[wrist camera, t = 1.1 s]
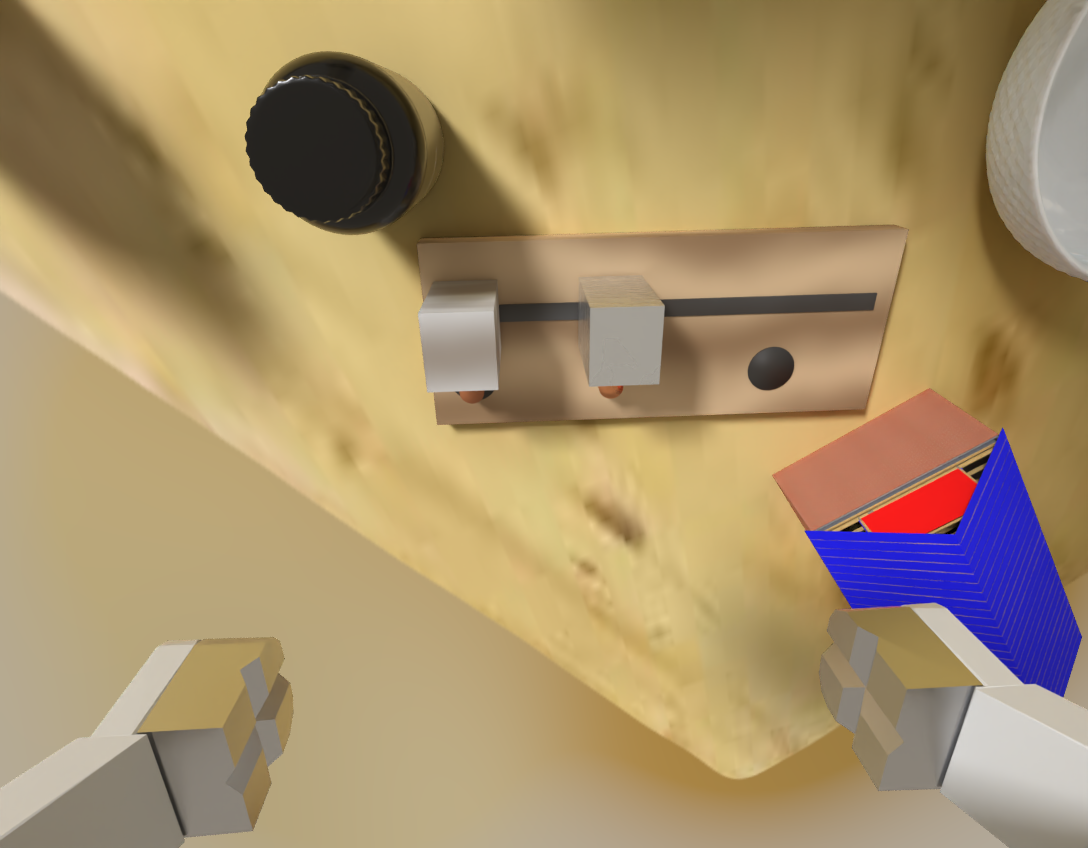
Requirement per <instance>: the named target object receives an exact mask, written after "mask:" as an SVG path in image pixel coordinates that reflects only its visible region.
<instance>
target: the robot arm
mask: <svg viewBox="0 0 1088 848" xmlns="http://www.w3.org/2000/svg"><path fill="white" fill-rule="evenodd" d="M827 632H828V633H829V635H830V636H831V638H832V639H833V641H834V643H833V644H832V645H831V646H830V647H829V648H828V649H827V650H826V651H825V652H824V653H823V654H822V658H821V664H820V670H819V675H820V682H821V689H822V693H823V696H824V699H825V701H826V704H827V706H828V708H829V710H830V712H831V713H832V715H833V717H834V719H835V720H836V721H837V722H838V723H840V724H841V725H843V726H844V727H846V728H847V729H848V730H850V731H852V732H853V733H854V739H853V745H852V749H853V750H854V752H855V753H856V755H857V757H858V758H859V760H860V762H861V763H862V765H863V767H864V768H865V770H866V772H867V773H868V775H869V776H870V778H871V780H872V781H873V783H874V785H875V786H876V788H877V789H878V791H887V790H888V791H890V790H918V789H941V790H940V793H942V794H943V795H944V796H945V797H947V798H948V799H949V800H950V801H952V802H953V803H954V804H956V805H957V806H958V807H959V808H960V809H962V810H963V811H964V812H965V813H967V814H968V815H969V816H970V817H972V818H973V819H974V820H975V821H977V822H978V823H979V824H980V825H982V826H983V827H984V828H985V829H986V830H988V831H989V832H990V833H991V834H993V835H994V836H995V837H996V838H998V839H999V840H1000V841H1002V842H1003V843H1004V844H1005V845H1006V846H1008V847H1009V848H1088V710H1087V709H1085V708H1083V707H1081V706H1079V705H1077V704H1075V703H1073V702H1071V701H1069V700H1067V699H1065V698H1063V697H1061V696H1059V695H1057V694H1055V693H1053V692H1051V691H1049V690H1047V689H1044V688H1042V687H1040V686H1038V685H1036V684H1023V683H1022V682H1021V681H1020V680H1019V679H1018V678H1017V677H1016V676H1015V675H1014V674H1013V673H1012V672H1011V671H1010V670H1009V669H1008V668H1007V667H1006V666H1005V665H1004V664H1003V663H1002V662H1001V661H1000V660H999V659H998V658H997V657H996V656H995V655H994V654H993V653H992V652H991V651H990V650H989V649H988V648H987V647H986V646H985V645H984V644H983V643H982V642H981V641H979V640H978V639H977V638H976V637H975V636H974V635H973V634H972V633H971V632H970V631H969V630H968V629H967V628H966V627H965V626H964V625H963V624H962V623H961V622H960V621H959V620H958V619H957V618H956V617H955V616H954V615H953V614H952V613H951V612H950V611H949V610H948V609H947V608H945V607H944V606H941V605H939V604H937V603H924V604H910V605H902V606H889V607H871V608H853V609H836V610H835V611H834V613H833V614H832V615H831V617H830V620H829V624H828V628H827ZM284 659H285V658H284V655H283V651H282V647H281V643H280V641H279V640H278V639H276V638H274V637H261V638H223V639H203V640H173V641H166V642H165V643H163V644H161V645H159V646H158V647H157V648H156V649H155V650H154V652H153V653H152V654H151V656H150V657H149V658H148V660H147V661H146V662H145V664H144V665H143V666H142V668H141V669H140V670H139V672H138V673H137V674H136V676H135V677H134V679H133V680H132V681H131V682H130V684H129V685H128V687H127V688H126V689H125V691H124V692H123V693H122V695H121V696H120V697H119V699H118V700H117V701H116V703H115V704H114V705H113V707H112V708H111V709H110V711H109V712H108V713H107V715H106V716H105V718H104V719H103V720H102V722H101V723H100V724H99V726H98V727H97V728H96V730H95V731H94V732H93V734H92V735H91V736H90V737H85V738H77V739H75V740H74V741H73V742H71V743H69V744H68V745H66V746H64V747H63V748H61V749H60V750H58V751H57V752H55V753H54V754H52V755H51V756H49V757H48V758H46V759H44V760H43V761H41V762H40V763H38V764H37V765H35V766H34V767H32V768H31V769H29V770H27V771H26V772H24V773H23V774H21V775H20V776H18V777H17V778H15V779H14V780H12V781H10V782H9V783H8V784H6V785H4V786H3V787H1V788H0V848H179V847H180V846H181V845H182V844H183V843H184V838H185V837H196V836H206V835H216V834H228V833H238V832H248V831H253V829H254V827H255V824H256V822H257V819H258V816H259V814H260V811H261V809H262V806H263V804H264V801H265V799H266V796H267V794H268V791H269V788H270V786H271V779H270V775H269V771H268V766H269V765H270V764H272V762H274V761H275V760H276V759H277V758H278V757H279V756H280V755H281V754H283V752H284V749H285V746H286V744H287V741H288V738H289V735H290V730H291V724H292V718H293V694H292V690H291V685H290V682H288V681H287V680H286V679H285V678H284V677H283V676H281V675H280V674H279V670H280V668H281V666H282V663H283V661H284Z"/></svg>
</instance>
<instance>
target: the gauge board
mask: <svg viewBox="0 0 1088 848" xmlns="http://www.w3.org/2000/svg"><path fill="white" fill-rule="evenodd" d="M908 231H909V229H906V228H903V227H899V226H896V225H870V226H836V227H801V228H767V229H732V230H698V231H663V232H629V233H594V234H559V235H525V236H490V237H456V238H421V239H420V240H419V241H418V243H417V251H418V260H419V269H420V277H421V286H422V295H423V305H422V307H421V309H420V311H419V313H418V317H419V326H420V334H421V343H422V351H423V360H424V368H425V376H426V385H427V392H434V401H435V410H436V418H437V425H446V424H474V423H501V422H528V421H555V420H583V419H610V418H637V417H665V416H692V415H719V414H746V413H774V412H801V411H828V410H856V409H865V408H866V404H867V399H868V395H869V391H870V387H871V383H872V379H873V375H874V371H875V367H876V362H877V358H878V354H879V350H880V346H881V342H882V338H883V334H884V329H885V325H886V321H887V317H888V313H889V309H890V305H891V301H892V297H893V292H894V288H895V284H896V280H897V276H898V272H899V268H900V264H901V259H902V255H903V251H904V247H905V243H906V239H907V235H908ZM629 275H642V276H643V278H644V279H645V280H646V282H647V283H648V284H649V286H650V287H651V288H652V290H653V291H654V292H655V293H656V295H657V296H658V297H659V299H660V300H661V301H662V303H663V304H664V305H665V310H664V324H663V338H662V352H661V367H660V381H659V384H652V385H624V386H623V391H622V393H621V394H620V395H619V396H618V397H616V398H612V399H609V398H605V397H603V396H602V395H601V393H600V391H599V388H598V386H596V387H589V384H588V380H587V377H586V373H585V369H584V365H583V361H582V357H581V354H580V350H579V346H578V317H579V277H597V276H629Z"/></svg>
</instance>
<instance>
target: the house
mask: <svg viewBox="0 0 1088 848" xmlns="http://www.w3.org/2000/svg"><path fill="white" fill-rule="evenodd" d="M954 466H956V467H954ZM952 467H954V468H952ZM950 468H952V469H950ZM948 469H950V470H948ZM946 470H948V471H946ZM944 471H946V472H944ZM942 472H944V473H942ZM941 473H942V474H941ZM939 474H941V475H939ZM937 475H939V476H937ZM772 476H773V477H774V479H775V481H776V482H777V484H778V485H779V487H780V489H781V490H782V492H783V494H784V495H785V497H786V499H787V500H788V502H789V503H790V505H791V507H792V508H793V510H794V512H795V513H796V515H797V517H798V518H799V520H800V522H801V523H802V525H803V526H804V528H805V530H806V531H805V532H806V534H807V536H808V538H809V539H810V541H811V542H812V544H813V546H814V547H815V549H816V550H817V552H818V554H819V555H820V557H821V559H822V560H823V562H824V564H825V565H826V567H827V568H828V570H829V572H830V573H831V575H832V577H833V578H834V580H835V581H836V583H837V585H838V587H839V588H840V590H841V591H842V593H843V595H844V596H845V598H846V599H847V601H848V603H849V604H850V606H851V608H852V609H853V608H871V607H889V606H902V605H910V604H924V603H937V604H939V605H941V606H944V607H945V608H947V609H948V610H949V611H950V612H951V613H952V614H953V615H954V616H955V617H956V618H957V619H958V620H959V621H960V622H961V623H962V624H963V625H964V626H965V627H966V628H967V629H968V630H969V631H970V632H971V633H972V634H973V635H974V636H975V637H976V638H977V639H978V640H979V641H981V642H982V643H983V644H984V645H985V646H986V647H987V648H988V649H989V650H990V651H991V652H992V653H993V654H994V655H995V656H996V657H997V658H998V659H999V660H1000V661H1001V662H1002V663H1003V664H1004V665H1005V666H1006V667H1007V668H1008V669H1009V670H1010V671H1011V672H1012V673H1013V674H1014V675H1015V676H1016V677H1017V678H1018V679H1019V680H1020V681H1021V682H1022V683H1023V684H1036V685H1038V686H1040V687H1042V688H1044V689H1047V690H1049V691H1051V692H1053V693H1055V694H1057V695H1059V696H1061V697H1064V694H1065V690H1066V687H1067V684H1068V680H1069V677H1070V674H1071V671H1072V668H1073V664H1074V661H1075V658H1076V655H1077V652H1078V649H1079V645H1080V642H1081V638H1082V636H1081V633H1080V631H1079V628H1078V626H1077V623H1076V620H1075V617H1074V615H1073V612H1072V610H1071V607H1070V604H1069V602H1068V599H1067V596H1066V594H1065V592H1064V588H1063V586H1062V583H1061V580H1060V578H1059V575H1058V572H1057V570H1056V567H1055V564H1054V562H1053V559H1052V556H1051V554H1050V551H1049V548H1048V546H1047V543H1046V540H1045V538H1044V535H1043V533H1042V530H1041V527H1040V525H1039V522H1038V519H1037V517H1036V514H1035V511H1034V509H1033V506H1032V503H1031V501H1030V498H1029V495H1028V493H1027V490H1026V487H1025V485H1024V482H1023V479H1022V477H1021V474H1020V472H1019V469H1018V466H1017V464H1016V461H1015V458H1014V456H1013V453H1012V450H1011V448H1010V445H1009V442H1008V440H1007V437H1006V434H1005V432H1004V429H1003V428H1002V430H1001V432H1000V434H997V433H996V432H994V431H993V430H991V429H990V428H988V427H987V426H985V425H984V424H982V423H981V422H979V421H978V420H976V419H975V418H973V417H972V416H970V415H969V414H967V413H966V412H964V411H963V410H961V409H960V408H958V407H957V406H955V405H954V404H952V403H951V402H949V401H948V400H946V399H945V398H943V397H942V396H940V395H939V394H937V393H936V392H935V391H933V390H932V389H930V388H929V389H927V390H925V391H924V392H922V393H920V394H918V395H916V396H915V397H913V398H911V399H909V400H907V401H906V402H904V403H902V404H900V405H898V406H896V407H895V408H893V409H891V410H889V411H887V412H886V413H884V414H882V415H880V416H878V417H877V418H875V419H873V420H871V421H869V422H867V423H866V424H864V425H862V426H860V427H858V428H857V429H855V430H853V431H851V432H849V433H848V434H846V435H844V436H842V437H840V438H838V439H837V440H835V441H833V442H831V443H829V444H828V445H826V446H824V447H822V448H820V449H819V450H817V451H815V452H813V453H811V454H810V455H808V456H806V457H804V458H802V459H800V460H799V461H797V462H795V463H793V464H791V465H790V466H788V467H786V468H784V469H782V470H781V471H779V472H777V473H775V474H773V475H772ZM935 476H937V477H935ZM933 477H935V478H933ZM931 478H933V479H931ZM929 479H931V480H929ZM927 480H929V481H927ZM925 481H927V482H925ZM923 482H925V483H923ZM921 483H923V484H921ZM919 484H921V485H919ZM917 485H919V486H917ZM915 486H917V487H915ZM913 487H915V488H913ZM911 488H913V489H911ZM910 489H911V490H910ZM908 490H909V491H908ZM906 491H908V492H906ZM904 492H906V493H904ZM902 493H904V494H902ZM900 494H902V495H900ZM898 495H900V496H898ZM896 496H898V497H896ZM894 497H896V498H894ZM892 498H894V499H892ZM890 499H892V500H890ZM888 500H890V501H888ZM886 501H888V502H886ZM884 502H886V503H884ZM882 503H884V504H882ZM880 504H882V505H880ZM879 505H880V506H879ZM877 506H878V507H877ZM875 507H877V508H875ZM873 508H875V509H873ZM871 509H873V510H871ZM869 510H871V511H869ZM867 511H869V512H867ZM865 512H867V513H865ZM863 513H865V514H863ZM861 514H863V515H861ZM859 515H861V516H859ZM962 515H963V516H962ZM857 516H859V517H857ZM960 516H962V517H960ZM855 517H857V518H855ZM958 517H960V518H958ZM853 518H855V519H853ZM956 518H958V519H956ZM851 519H853V520H851ZM954 519H956V520H954ZM849 520H851V521H849ZM952 520H954V521H952ZM960 520H961V521H960ZM848 521H849V522H848ZM858 521H859V522H860V523H861V525H862V527H860V528H858V529H856V530H854V531H852V532H842V531H841V530H843V529H845V528H847V527H849V526H851V525H853V524H855V523H856V522H858ZM950 521H952V522H950ZM958 521H959V522H958ZM846 522H847V523H846ZM948 522H950V523H948ZM956 522H957V523H956ZM844 523H845V524H844ZM946 523H948V524H946ZM954 523H955V524H954ZM842 524H844V525H842ZM944 524H946V525H944ZM952 524H953V525H952ZM840 525H842V526H840ZM942 525H944V526H942ZM950 525H951V526H950ZM838 526H840V527H838ZM940 526H942V527H940ZM948 526H949V527H948ZM836 527H838V528H836ZM938 527H940V528H938ZM946 527H947V528H946ZM957 527H958V529H957V531H956V532H954V533H952V534H945V533H947V532H949V531H951V530H953V529H955V528H957ZM834 528H836V529H834ZM936 528H938V529H936ZM944 528H945V529H944ZM832 529H834V530H832ZM934 529H936V530H934ZM942 529H943V530H942ZM830 530H832V531H830ZM863 530H865V531H866V532H861V531H863ZM932 530H934V531H932ZM940 530H941V531H940ZM930 531H932V532H930ZM938 531H939V532H938ZM928 532H930V533H928ZM936 532H937V533H936ZM926 533H928V534H926ZM934 533H935V534H934Z"/></svg>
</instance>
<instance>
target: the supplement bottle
mask: <svg viewBox="0 0 1088 848" xmlns="http://www.w3.org/2000/svg"><path fill="white" fill-rule="evenodd" d="M246 125H247V132H246V134H245V140H246V142H247V147H246V152H247V155H248V156H249V158H250V161H249V162H250V166H251V168H252V169H253V170H254V172H255V177H256V179H257V180H258V181H259V182H260V183H261V184H262V186H263V189H264V191H265V192H266V193H267V194H269V195H271V197H272V199H273V201H274V202H275V203H277V204H280V205H281V206H282V207H283V208H284V209H285V210H286V211H288V212H293V213H294V214H295V215H296V216H297V217H300V218H301V219H303V220H304V221H306V222H308V223H309V224H311V225H313V226H315V227H318V228H320V229H323V230H325V231H329V232H333V233H337V234H344V235H360V234H367V233H371V232H374V231H377V230H380V229H382V228H384V227H386V226H388V225H390V224H392V223H393V222H395V221H396V220H398V219H399V218H400V217H402V216H403V215H404V214H405V213H406V212H408V211H409V210H410V209H411V208H412V207H413V206H415V205H416V204H417V203H418V202H419V201H421V200H422V199H423V198H424V197H425V196H426V195H427V194H428V192H429V191H430V190H431V189H432V187H433V186H434V184H435V182H436V180H437V178H438V176H439V174H440V171H441V167H442V163H443V157H444V139H443V133H442V128H441V125H440V122H439V119H438V116H437V114H436V112H435V110H434V108H433V106H432V105H431V103H430V102H429V100H428V99H427V97H426V96H425V95H424V94H423V93H422V92H421V91H420V90H419V89H418V88H417V87H416V86H415V85H414V84H413V83H412V82H410V81H409V80H407V79H406V78H404V77H403V76H401V75H399V74H397V73H396V72H393V71H391V70H389V69H386V68H384V67H382V66H379V65H377V64H375V63H372V62H370V61H368V60H365V59H363V58H361V57H358V56H354V55H351V54H347V53H341V52H331V51H326V52H315V53H310V54H306V55H303V56H301V57H298V58H296V59H294V60H292V61H290V62H289V63H287V64H286V65H284V66H283V67H282V68H281V69H280V70H278V71H277V72H276V73H275V74H274V76H273V77H272V78H271V79H270V80H269V82H268V83H267V85H266V86H265V88H264V90H263V92H262V94H261V96H259V97H257V101H256V105H255V106H253V107H252V108H251V111H250V118H249V119H248V120H247V122H246Z"/></svg>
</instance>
